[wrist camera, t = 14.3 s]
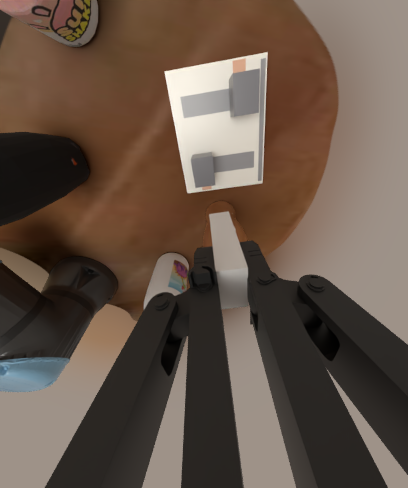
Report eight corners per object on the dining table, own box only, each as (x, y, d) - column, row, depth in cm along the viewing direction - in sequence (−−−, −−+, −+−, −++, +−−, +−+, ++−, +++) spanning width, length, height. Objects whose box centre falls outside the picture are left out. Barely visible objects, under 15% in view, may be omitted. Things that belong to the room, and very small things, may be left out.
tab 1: (196, 180, 31) (195, 187, 28) (192, 154, 29) (190, 159, 25) (214, 178, 31) (215, 185, 27) (211, 151, 28) (212, 155, 25)
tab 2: (230, 117, 26) (234, 116, 23) (228, 80, 24) (232, 73, 20) (251, 113, 26) (258, 112, 22) (252, 75, 24) (259, 68, 20)
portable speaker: (90, 138, 30) (-45, 157, 14) (94, 193, 35) (0, 255, 19) (32, 123, 29) (-189, 125, 13) (46, 182, 34) (-100, 238, 18)
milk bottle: (160, 276, 47) (135, 361, 30) (154, 251, 43) (121, 335, 26) (190, 275, 47) (182, 361, 30) (187, 250, 42) (176, 334, 26)
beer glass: (235, 230, 39) (249, 281, 27) (202, 229, 39) (201, 279, 27) (239, 199, 36) (258, 240, 23) (203, 197, 35) (202, 239, 23)
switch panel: (188, 188, 35) (187, 193, 32) (167, 75, 26) (164, 71, 24) (258, 179, 33) (262, 183, 31) (262, 58, 25) (267, 51, 23)
